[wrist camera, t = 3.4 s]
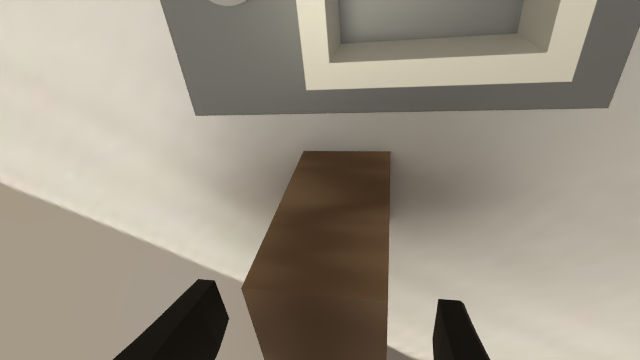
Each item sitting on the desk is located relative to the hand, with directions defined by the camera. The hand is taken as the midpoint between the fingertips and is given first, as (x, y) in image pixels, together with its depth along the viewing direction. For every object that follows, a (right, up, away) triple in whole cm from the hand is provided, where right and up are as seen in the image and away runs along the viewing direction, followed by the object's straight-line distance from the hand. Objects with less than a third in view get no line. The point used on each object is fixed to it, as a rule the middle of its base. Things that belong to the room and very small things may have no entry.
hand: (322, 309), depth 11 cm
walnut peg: (+1, +4, +6) cm, 7 cm away
